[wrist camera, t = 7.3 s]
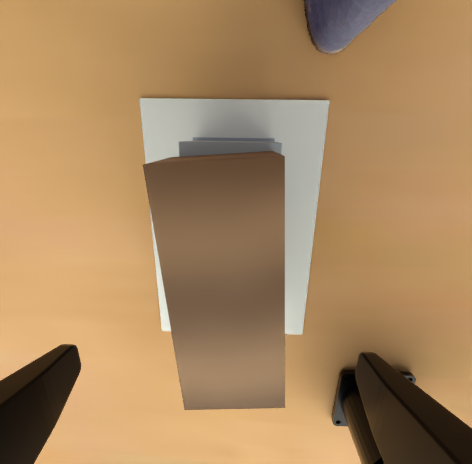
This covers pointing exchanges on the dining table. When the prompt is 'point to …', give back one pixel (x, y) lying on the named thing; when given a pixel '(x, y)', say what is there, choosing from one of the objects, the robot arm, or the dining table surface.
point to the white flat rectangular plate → (252, 129)
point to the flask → (340, 21)
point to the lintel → (223, 274)
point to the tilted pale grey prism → (226, 147)
